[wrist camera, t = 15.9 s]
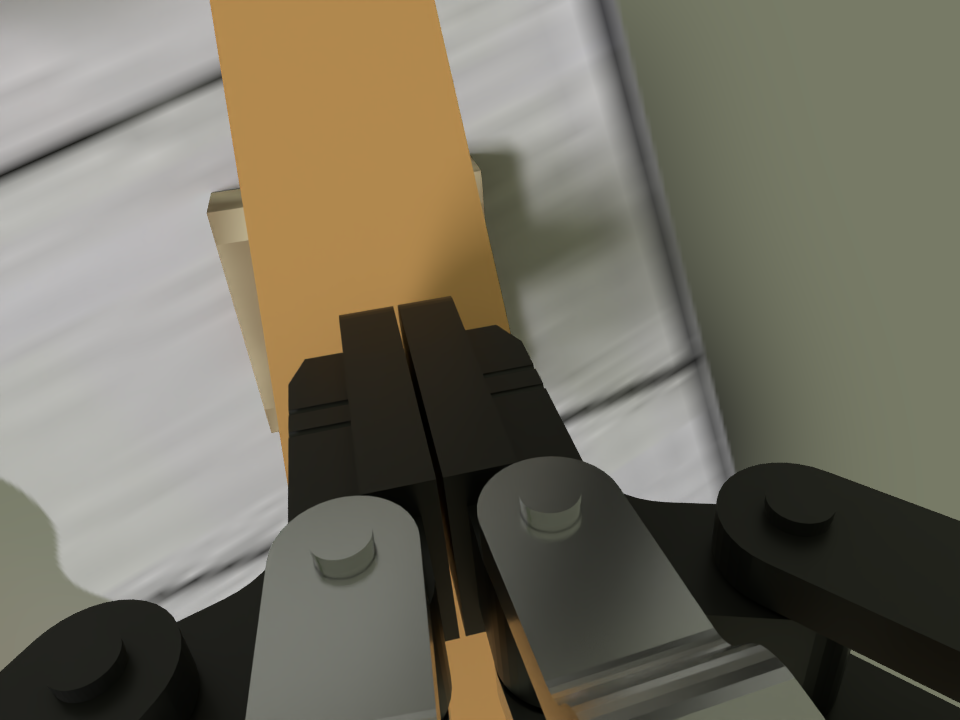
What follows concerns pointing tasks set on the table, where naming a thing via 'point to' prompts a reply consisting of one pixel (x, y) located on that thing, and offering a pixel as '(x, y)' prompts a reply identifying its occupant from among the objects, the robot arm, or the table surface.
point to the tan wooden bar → (355, 196)
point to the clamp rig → (252, 282)
